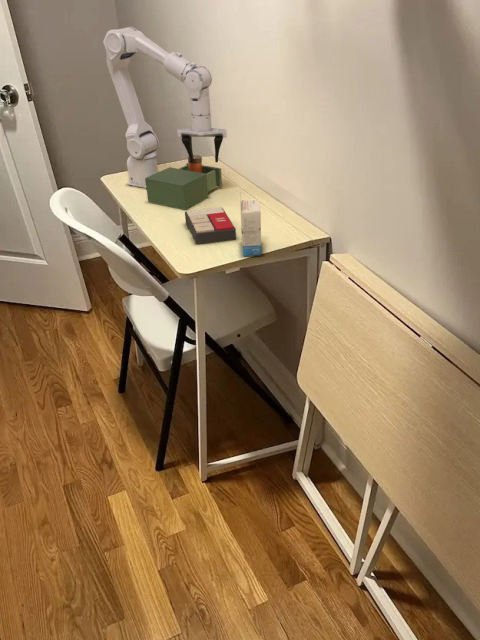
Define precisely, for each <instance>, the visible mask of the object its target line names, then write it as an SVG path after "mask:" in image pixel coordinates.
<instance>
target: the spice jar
mask: <svg viewBox="0 0 480 640" xmlns="http://www.w3.org/2000/svg"><path fill="white" fill-rule="evenodd" d="M187 163H189V171H193V172H199V173H203V169H202V165H203V156H202V155H199V154H193V162H190V158H189V155H188V156H187Z"/></svg>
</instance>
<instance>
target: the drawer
mask: <svg viewBox="0 0 480 640" xmlns="http://www.w3.org/2000/svg"><path fill="white" fill-rule="evenodd" d="M178 169H182V170H188V171H189V162H187V163H186V164H185V165H183V166H181V167H179V168H178ZM202 169H203V173H204V174H206V175H207V188H208V193H209V192H211V191H213V190H214V189H216V188H221V187H223V179H222V177H223V176H222V168H221V167H216V166H211V165H210V166H209V165H204V164H202Z"/></svg>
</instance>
